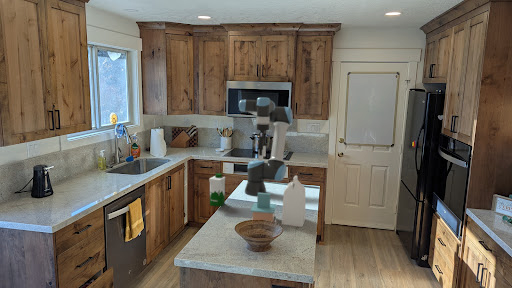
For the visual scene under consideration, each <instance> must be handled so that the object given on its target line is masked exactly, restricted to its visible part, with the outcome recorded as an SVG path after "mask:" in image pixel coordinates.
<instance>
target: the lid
mask: <svg viewBox="0 0 512 288" xmlns="http://www.w3.org/2000/svg"><path fill="white" fill-rule="evenodd" d="M256 196H257V202H253V204H252V206H251V207H250V208H251V212H262V213H274V214H275V212H276V207H277V204H276V203H271V193H270V192H266V193H258V195H256Z"/></svg>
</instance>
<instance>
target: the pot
mask: <svg viewBox="0 0 512 288" xmlns="http://www.w3.org/2000/svg"><path fill="white" fill-rule="evenodd" d="M274 218H275V212H274V213H262V212H253V216H252V221H253V220H267V221H272V222H273V223H274V220H275V219H274Z"/></svg>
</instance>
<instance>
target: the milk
mask: <svg viewBox="0 0 512 288" xmlns="http://www.w3.org/2000/svg"><path fill="white" fill-rule="evenodd" d="M281 213H282V214H281V225H285V226H294V227H299V228H300V227H303V226H304V223H305V221H306V188H305V186H304V185H303V184H302V183H301V182H300V181H299V179H298V175H294V176H293V179H292V181H290V182H289V183H287V185H286V187H285V189H284V191H283V200H282V212H281Z"/></svg>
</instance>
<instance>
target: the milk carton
mask: <svg viewBox="0 0 512 288" xmlns="http://www.w3.org/2000/svg"><path fill="white" fill-rule="evenodd" d="M208 180H209V206H210V207H217V208H220V207H222V206H223V205H225V202H226V200H225V198H226V197H225V196H226V185H225V183H226V176H223V173H221V172H217V173H215V174H214V176H211V177H210V178H208Z"/></svg>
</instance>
